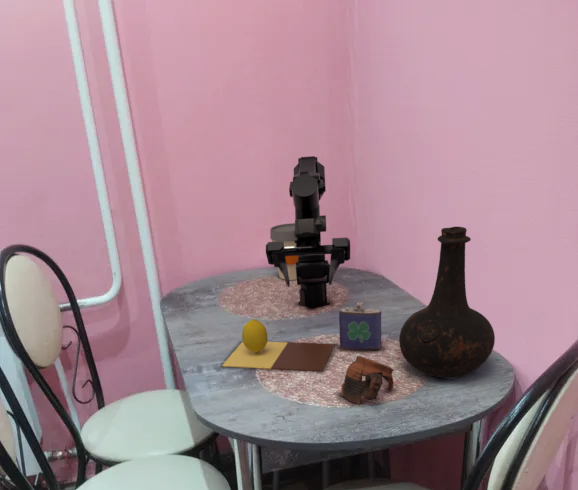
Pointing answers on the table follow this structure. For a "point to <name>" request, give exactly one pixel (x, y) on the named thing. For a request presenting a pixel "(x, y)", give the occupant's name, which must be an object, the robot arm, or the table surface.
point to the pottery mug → (373, 380)
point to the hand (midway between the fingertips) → (309, 284)
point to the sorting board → (282, 356)
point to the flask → (360, 329)
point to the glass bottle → (448, 320)
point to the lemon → (254, 336)
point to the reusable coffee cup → (287, 236)
